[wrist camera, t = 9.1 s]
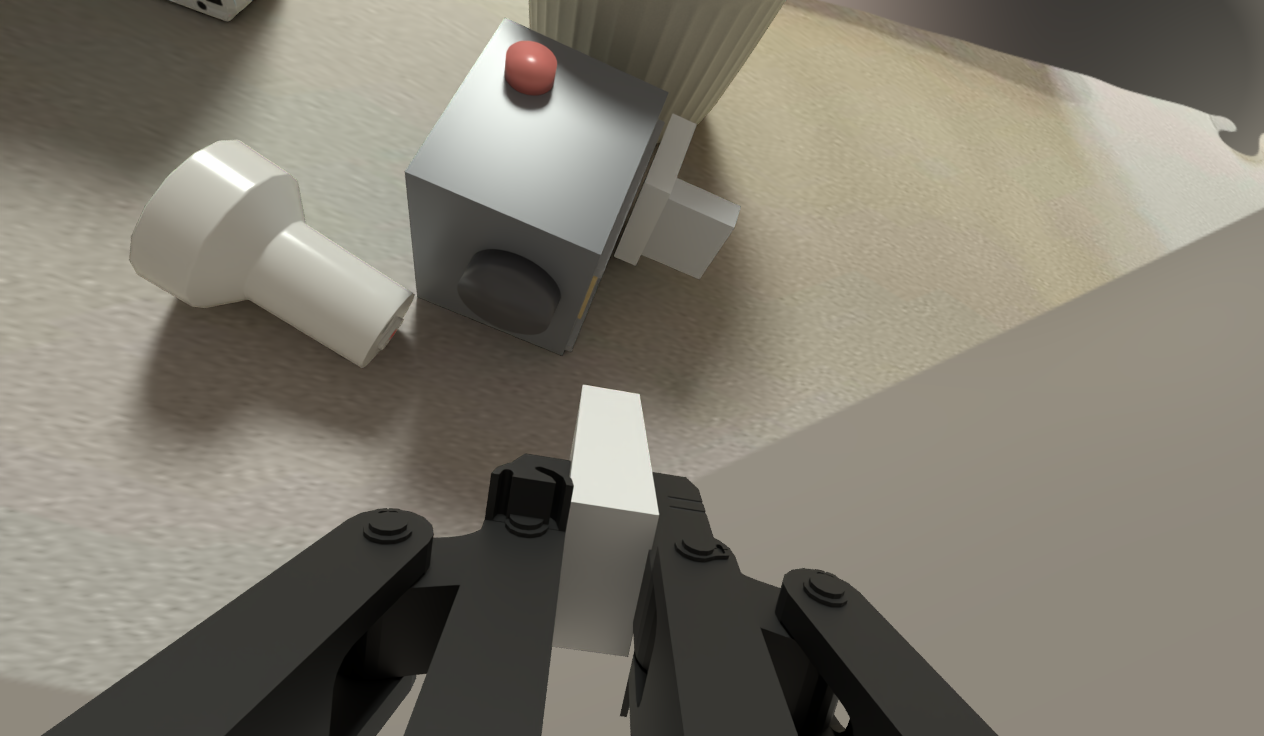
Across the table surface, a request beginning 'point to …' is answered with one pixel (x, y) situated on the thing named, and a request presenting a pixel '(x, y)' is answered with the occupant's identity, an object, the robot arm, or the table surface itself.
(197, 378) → the table surface
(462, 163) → the camera case
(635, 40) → the canister
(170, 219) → the spotlight
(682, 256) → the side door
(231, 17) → the stereo radio cassette player
